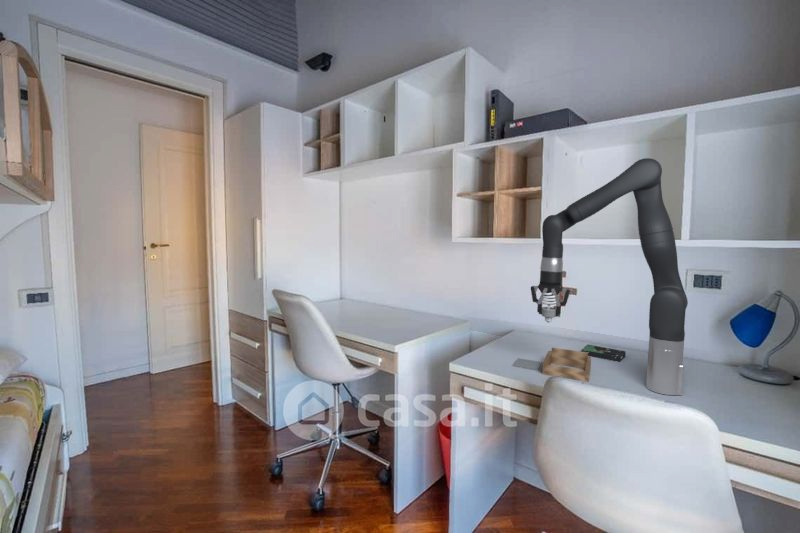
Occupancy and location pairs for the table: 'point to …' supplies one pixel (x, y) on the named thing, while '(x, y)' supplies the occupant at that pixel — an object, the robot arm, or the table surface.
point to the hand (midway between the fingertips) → (548, 314)
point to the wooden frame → (567, 364)
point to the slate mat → (527, 364)
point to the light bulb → (548, 311)
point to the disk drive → (604, 353)
